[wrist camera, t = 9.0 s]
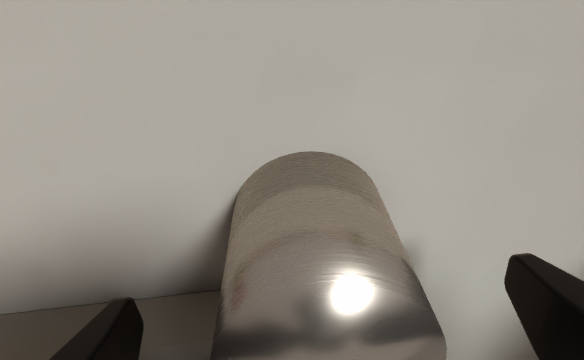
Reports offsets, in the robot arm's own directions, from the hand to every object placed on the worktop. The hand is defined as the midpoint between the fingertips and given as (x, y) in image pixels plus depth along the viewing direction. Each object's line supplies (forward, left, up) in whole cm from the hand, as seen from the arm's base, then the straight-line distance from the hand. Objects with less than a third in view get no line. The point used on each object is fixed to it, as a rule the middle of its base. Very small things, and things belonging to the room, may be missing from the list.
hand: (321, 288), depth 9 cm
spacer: (0, 0, -3) cm, 3 cm away
